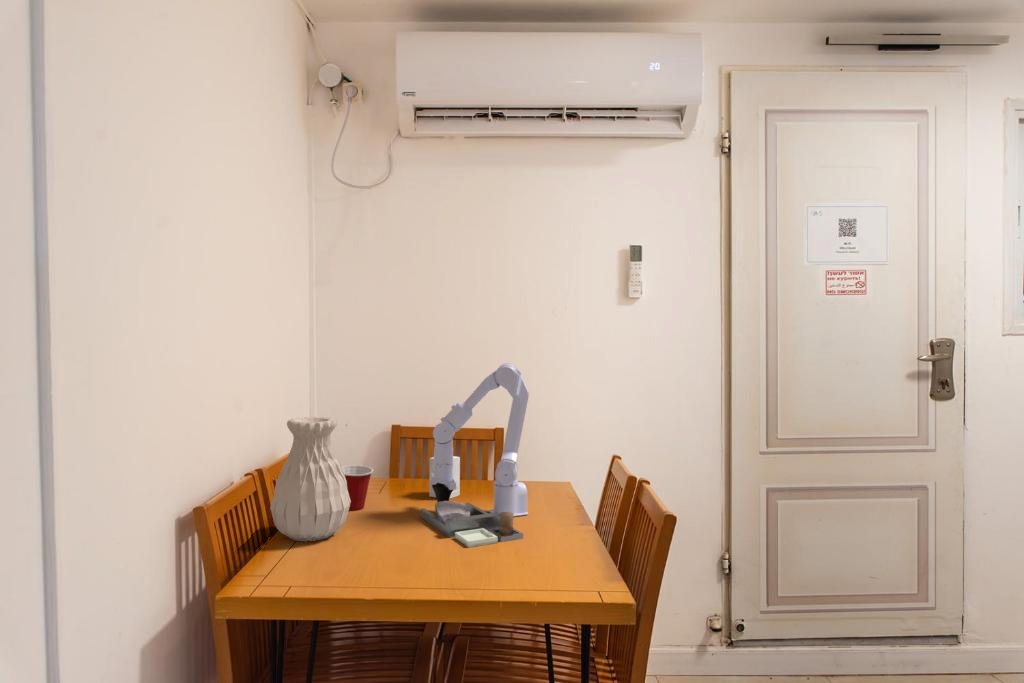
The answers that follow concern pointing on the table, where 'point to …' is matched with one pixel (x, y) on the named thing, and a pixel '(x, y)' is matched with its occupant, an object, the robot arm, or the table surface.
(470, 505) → the bench stop
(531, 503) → the table surface
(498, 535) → the dowel socket
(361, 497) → the plastic cup
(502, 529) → the dowel
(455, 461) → the supplement box
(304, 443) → the vase
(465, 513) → the stone block
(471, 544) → the tray
